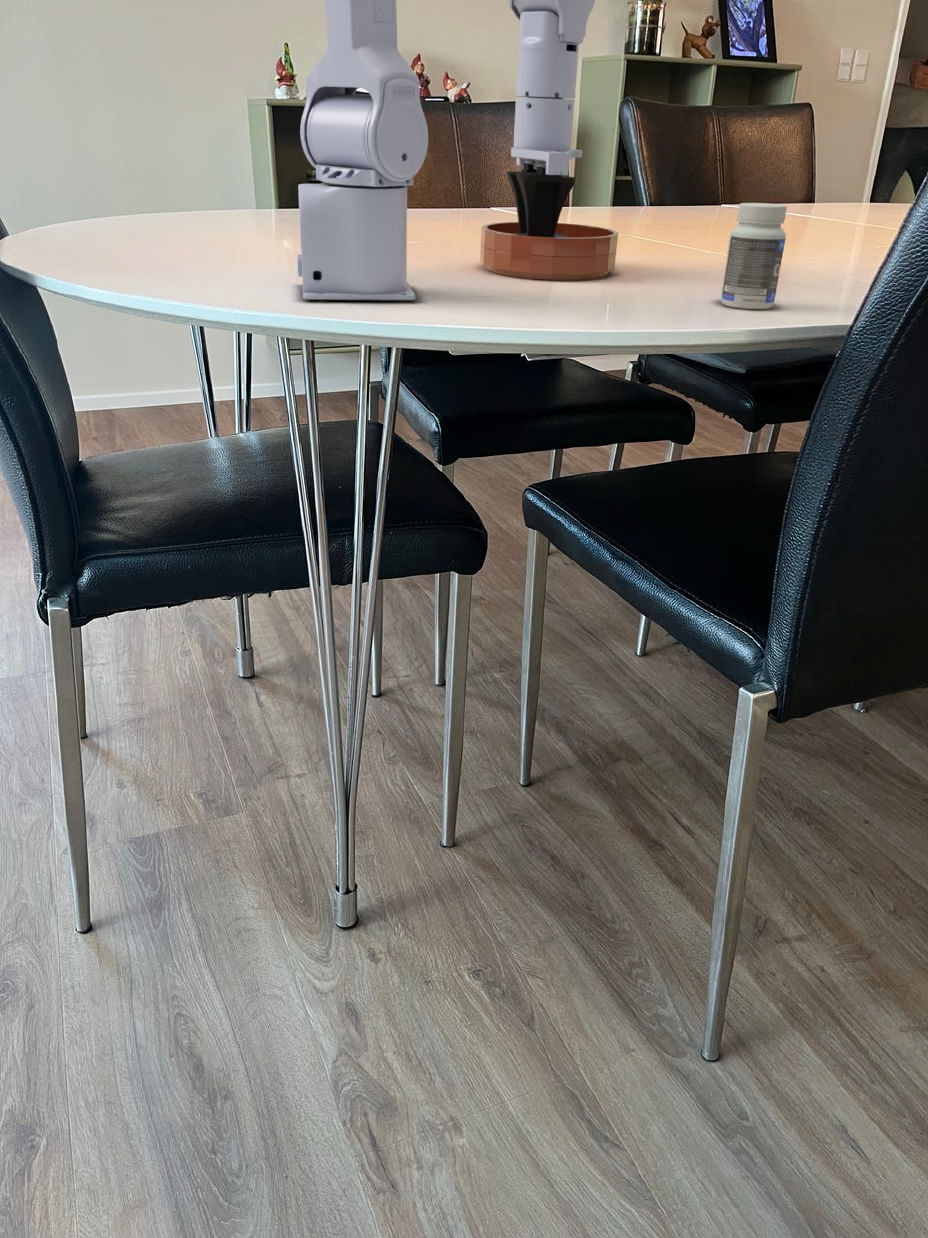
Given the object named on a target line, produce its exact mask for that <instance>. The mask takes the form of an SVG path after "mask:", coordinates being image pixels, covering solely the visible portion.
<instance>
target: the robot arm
mask: <svg viewBox="0 0 928 1238" xmlns="http://www.w3.org/2000/svg"><path fill="white" fill-rule="evenodd" d="M507 1H508V6H509V8H510V10H511V11H512V12H513V14H514V16H515V17H516V18H517V19H518V20H519V30H518V31H519V33H518V54H517V73H516V91H515V93H516V94H515V110H514V111H515V112H514V127H513V128H514V131H513V147H511V149H510V156H511V157H512V158H516V165H515V166H518V167H523V168H521V170H520V171H518V170H517V171H516V170H515V171H514V170H511V171H510V170H509V171H506V176H507V180H508V182H509V185H510V187H511V190H512V195H513V197H514V201H515V207H516V213H517V222H518V223H519V231H520V233H523V234H525V233H527V236H539V237H554V235H555V231H556V227H557V223H559V220H560V216H561V213H562V210H563V207H564V205H565V202H566V201H567V198H568V197H569V194H570V192H571V191H572V189H573V187H574V186H575V183H576V178H577V177H574V176H569V170H570V169H569V168H570V160H572V159H582V158H583V150H581V149H575V148H574V149H572V139H573V138H572V137H573V127H574V126H573V125H574V113H575V98H576V89H577V87H576V85H577V76H578V62H579V52H580V51H579V49H580V45H581V44H582V43H584V38H586V33H587V24H588V20H589V17H590V15H591V13H592V11H593V8H594V6H595V3H596V0H507ZM324 4H325V6H324V7H325V22H326V23H325V24H326V41H327V44H326V45H327V49H326V51H325V52H324V53H323V54H322V56H321V57H320V58H319V60H318V61H317V62H316V64H315V65H313V67H312V68H311V70H310V71H309V72H308V74H307V75H306V77H305V85H306V88H305V89H306V99H305V104H304V105H305V106H304V109H303V112H302V115H301V120H300V129H299V134H300V142H301V146H302V151H303V153H304V155H305V157H306V160H307V161H308V162H309V163H310V165H311V166H312V167H313V168H314V169H315V180H316V181H320V182H322V183H300V184H298V186H297V189H298V210H299V211H298V212H299V233H300V234H299V235H300V236H299V237H300V254H297V255H296V258H297V259H296V260H297V261H296V263H297V277H299V278H301V281H302V298H303V300H316V301H317V300H319V301H321V300H322V301H323V300H326V301H327V300H330V301H332V300H333V301H334V300H335V301H339V300H340V301H414V300H416V294H415V292H414V291H413V289H412V287H411V285H410V284H409V282H408V280H407V278H408V277H407V276H408V275H407V271H408V270H407V269H408V265H407V264H408V261H407V260H408V255H407V254H408V239H407V238H408V186H409V187H410V186H414V177H415V176H416V175H417V173H418V172H419V171H420V170H421V168H422V166H423V164H424V162H425V160H426V156H427V152H428V147H429V129H428V124H427V119H426V117H425V113H424V110H423V107H422V102H421V95H420V79H419V77H418V75H417V73H416V72H415V70H413V68H412V67H411V66H410V65H409V63H408V62H407V61H406V59H405V58H404V57H403V55H402V54H401V53H400V51H399V48H398V18H397V17H398V15H397V13H398V11H397V0H324ZM359 88H360V89H363V90H365V91H367V93H368V94H358V93H357V94H355V93H356V92H357V90H359Z"/></svg>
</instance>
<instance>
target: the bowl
mask: <svg viewBox="0 0 928 1238" xmlns="http://www.w3.org/2000/svg"><path fill="white" fill-rule="evenodd" d="M480 230H481V231H480V233H481V234H480V253H479V254H480V255H479V262H480V263H481V264H482V265H483V266H486V270H488V271H489V272H492V273H495V274H498V275H502V276H507V277H515V278H522V279H531V280H542V281H543V280H544V281H584V280H594V279H600V278H603V277H606V276H607V275H608V273H609V272H612V271H614V270H615V267H616V259H617V250H618V249H617V248H618V238H619V231H617V230H614V229H612V228H611V229H610V228H607V227H602V226H596V225H587V224H578V223H569V222H568V223H567V222H566V223H565V222H558V223H557V227H556V231H555V234H562V235H564V236H566V237H568V238H560V237H539V236H526V235H516V234H509V233H520V231H519V223H518V221H503V222H493V223H487V224H483V226H481V229H480Z"/></svg>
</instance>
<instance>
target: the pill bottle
mask: <svg viewBox="0 0 928 1238" xmlns="http://www.w3.org/2000/svg"><path fill="white" fill-rule="evenodd" d="M786 214H787V205H786V204H779V203H770V202H769V203H767V202H766V203H765V202H742V203H741V202H740V203H739V205H738V209H737V215H736V218H737V219H736V221H737V222H738V225H736V226H734V227H733V228H732V229H731V230H730V234H729V240H728V247H727V254H726V261H725V267H724V274H723V281H722V287H721V292H720V302H721V304H722V305H724V306H726V307H730V308H736V309H744V310H746V309H747V310H767V309H771V308H772V307H773V306H774V304H775V299H776V295H777V289H778V283H779V276H780V272H781V265H782V260H783V255H784V249H785V243H786V237H787V233H786V231H785V230H784V229H783V228H782V224H784V223H785V220H786Z"/></svg>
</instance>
